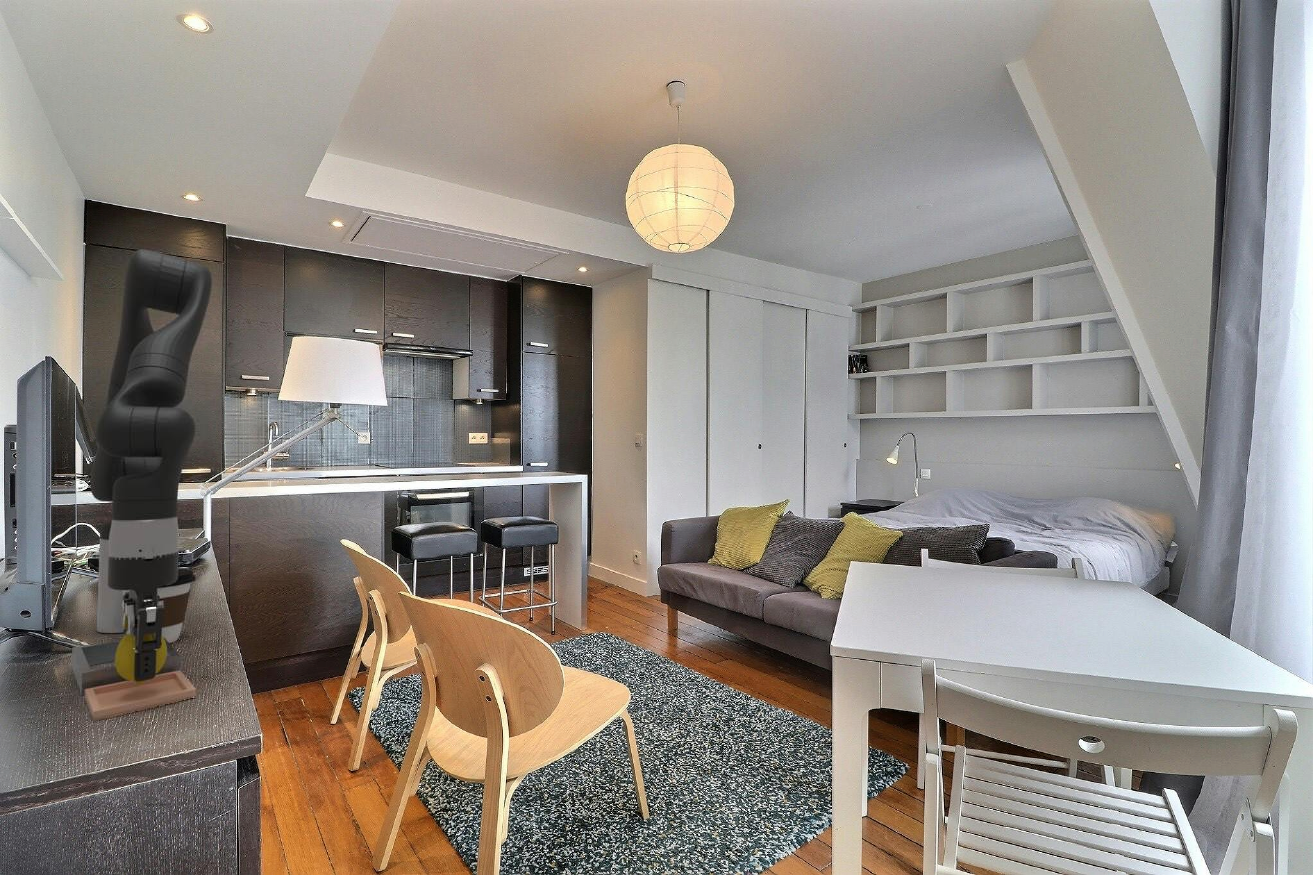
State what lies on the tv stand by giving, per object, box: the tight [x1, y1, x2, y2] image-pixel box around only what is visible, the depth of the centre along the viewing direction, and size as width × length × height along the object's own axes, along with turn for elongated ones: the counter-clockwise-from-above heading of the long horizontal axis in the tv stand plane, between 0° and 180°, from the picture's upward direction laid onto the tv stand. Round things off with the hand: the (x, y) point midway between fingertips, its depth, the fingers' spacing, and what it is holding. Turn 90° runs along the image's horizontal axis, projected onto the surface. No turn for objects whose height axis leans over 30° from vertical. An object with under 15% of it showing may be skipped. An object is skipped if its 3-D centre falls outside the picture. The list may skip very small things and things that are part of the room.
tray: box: [84, 670, 197, 722], centre depth 86 cm, size 11×11×1 cm
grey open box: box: [71, 638, 181, 696], centre depth 97 cm, size 16×11×3 cm
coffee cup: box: [123, 568, 197, 644], centre depth 112 cm, size 11×11×12 cm
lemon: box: [114, 633, 167, 684], centre depth 87 cm, size 6×6×8 cm
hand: (141, 673), depth 87 cm, fingers closed on lemon, 5 cm apart
